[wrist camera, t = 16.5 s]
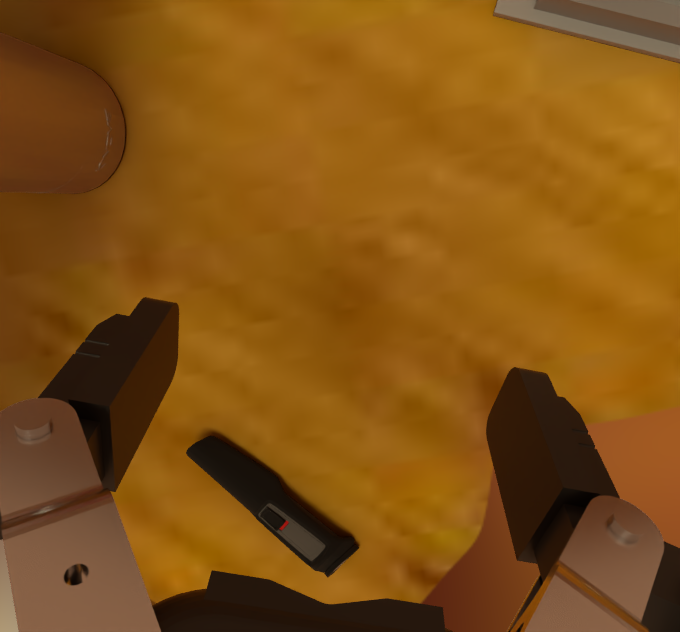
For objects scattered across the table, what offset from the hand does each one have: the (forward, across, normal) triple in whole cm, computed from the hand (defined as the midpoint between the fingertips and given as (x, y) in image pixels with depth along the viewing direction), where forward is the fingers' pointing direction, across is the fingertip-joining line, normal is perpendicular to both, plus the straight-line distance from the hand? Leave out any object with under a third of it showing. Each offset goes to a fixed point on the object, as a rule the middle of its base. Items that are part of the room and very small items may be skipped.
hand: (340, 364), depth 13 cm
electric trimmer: (+18, +1, +28) cm, 34 cm away
